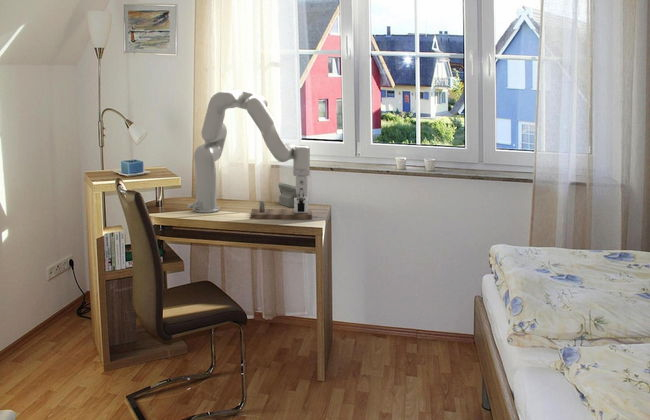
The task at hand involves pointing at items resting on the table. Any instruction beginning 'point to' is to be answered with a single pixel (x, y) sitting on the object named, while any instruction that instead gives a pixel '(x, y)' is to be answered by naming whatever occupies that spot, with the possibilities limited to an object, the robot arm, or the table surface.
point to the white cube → (297, 205)
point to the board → (278, 213)
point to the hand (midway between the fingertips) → (300, 209)
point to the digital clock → (287, 194)
